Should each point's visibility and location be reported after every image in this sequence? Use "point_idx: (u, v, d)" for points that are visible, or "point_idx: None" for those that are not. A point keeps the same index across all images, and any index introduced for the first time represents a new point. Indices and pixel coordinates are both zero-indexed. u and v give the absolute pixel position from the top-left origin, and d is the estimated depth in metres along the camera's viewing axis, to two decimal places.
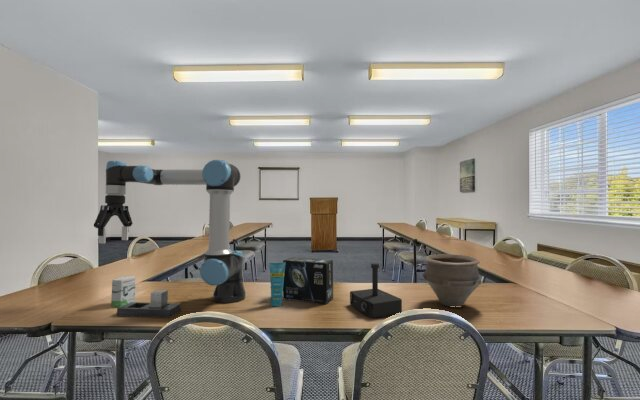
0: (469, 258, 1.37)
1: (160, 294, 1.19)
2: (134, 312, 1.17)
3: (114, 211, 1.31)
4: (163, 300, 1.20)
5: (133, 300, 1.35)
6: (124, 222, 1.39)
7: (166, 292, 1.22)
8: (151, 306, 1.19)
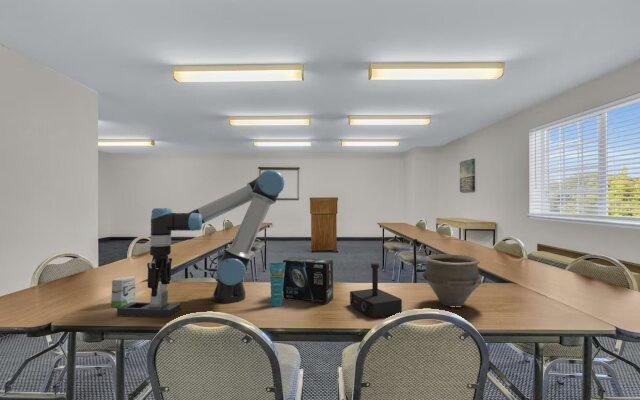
0: (469, 258, 1.37)
1: (160, 294, 1.19)
2: (134, 312, 1.17)
3: (161, 265, 1.20)
4: (163, 300, 1.20)
5: (133, 300, 1.35)
6: (163, 278, 1.24)
7: (166, 292, 1.22)
8: (151, 306, 1.19)
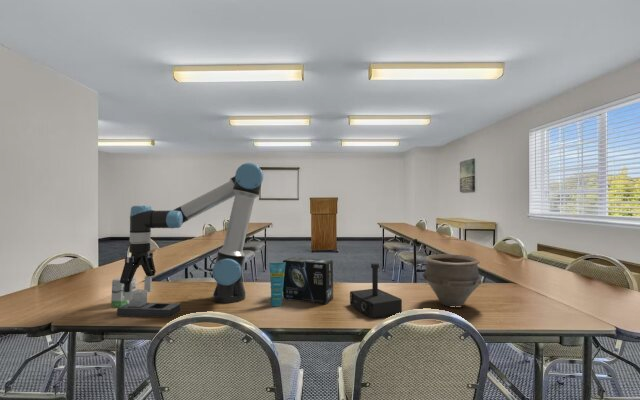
0: (469, 258, 1.37)
1: (139, 293, 1.19)
2: (134, 312, 1.17)
3: (139, 261, 1.20)
4: (142, 300, 1.21)
5: None
6: (147, 271, 1.27)
7: (145, 291, 1.23)
8: (130, 305, 1.19)
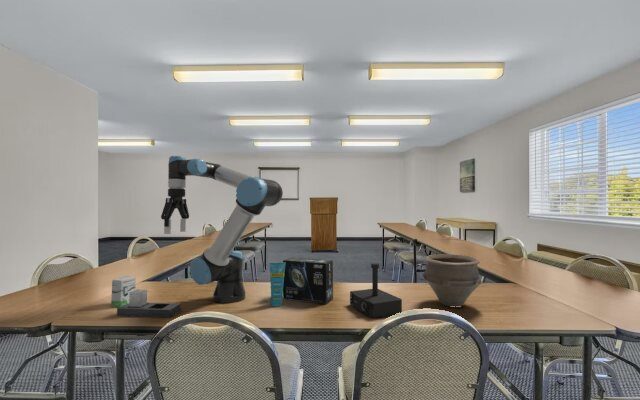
0: (469, 258, 1.37)
1: (139, 293, 1.19)
2: (134, 312, 1.17)
3: (177, 203, 1.38)
4: (142, 300, 1.21)
5: None
6: (183, 214, 1.46)
7: (145, 291, 1.23)
8: (130, 305, 1.19)
